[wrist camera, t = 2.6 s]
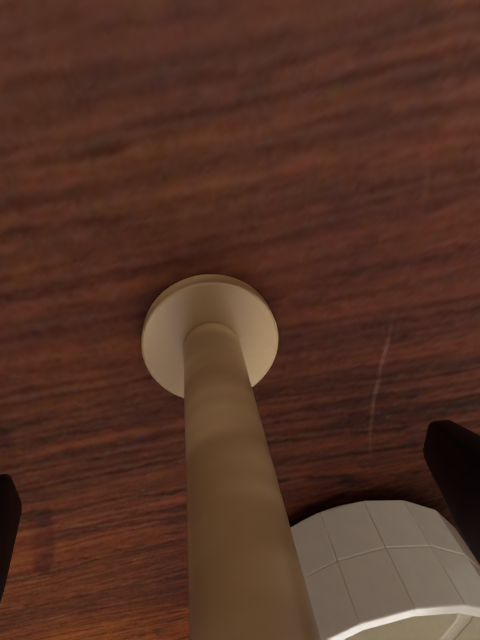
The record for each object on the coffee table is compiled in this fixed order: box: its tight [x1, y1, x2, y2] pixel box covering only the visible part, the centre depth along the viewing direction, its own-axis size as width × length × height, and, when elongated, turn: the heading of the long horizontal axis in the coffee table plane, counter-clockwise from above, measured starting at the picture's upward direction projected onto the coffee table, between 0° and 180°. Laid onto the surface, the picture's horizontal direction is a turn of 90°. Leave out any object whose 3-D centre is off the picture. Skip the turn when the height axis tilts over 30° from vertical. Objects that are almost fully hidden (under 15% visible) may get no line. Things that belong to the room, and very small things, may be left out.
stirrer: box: [141, 274, 321, 640], centre depth 9 cm, size 4×4×11 cm
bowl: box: [290, 500, 480, 640], centre depth 18 cm, size 11×11×5 cm
